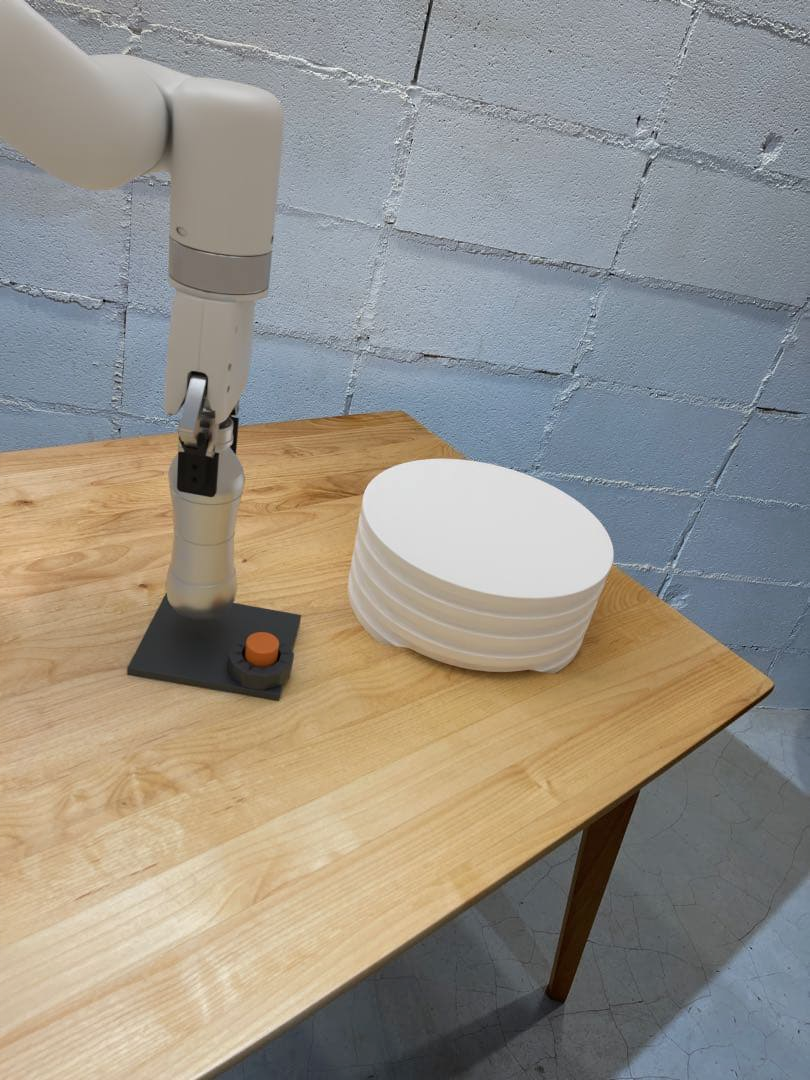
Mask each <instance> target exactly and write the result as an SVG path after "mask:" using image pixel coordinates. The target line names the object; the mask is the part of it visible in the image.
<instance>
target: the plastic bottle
mask: <svg viewBox="0 0 810 1080" xmlns="http://www.w3.org/2000/svg"><path fill="white" fill-rule="evenodd" d="M213 414H214V412H212V411H206V410H203V412H202V415H205V416H210V417H213ZM209 427H210V425H208V424H203V423H200V429H201V430H200V432H201V433H205V435H206V438H207V440H208V434H209ZM232 443H233V420H232V419H231V418H230V417H229V416H228V418H227V419H226V420H225V421H223V422H222V423H220V424H219V430H218V437H217V443H216V450H215V452H216V453H219V464H218V479H217V492H216V494H215V496H214V497H206V496H201V495H195V494H190V493H185V492H180V491H179V490H178V489H177V470H178V453H177V454H176V455H175V456H174V457H173V459H172V460H171V463H170V465H169V469H168V471H167V476H168V485H169V492H170V493H169V494H170V499H171V500H170V501H171V507H172V524H173V542H172V549H171V557H170V563H169V565H168V569H167V573H166V578H165V584H164V585H165V586H164V587H165V590H166V591H165V593H166V592H167V598H168V601H169V603H170V605H171V606H172V607H173V608H174V609H175V610H176V611H177V612H178V613H179V614H181V615H183V616H185V617H187V618H191V619H196V620H208V619H214V618H217V617H219V616H221V615H223V614H224V613H225V612H226V611H227V610H229V609H230V608H231V606H232V605H233V603H235V599H236V597H237V593H238V577H237V571H236V567H235V534H236V528H237V527H236V526H237V521H238V520H237V518H238V514H239V509H240V504H241V501H242V497H243V492H244V489H245V483H246V475H245V470H244V468H243V467H244V466H243V465H242V463H241V461H240V460H239V458H238V456H237V454H236V455H235V453H234V452H233V451H232V449H231V448H230V447H229V446H231V445H232Z"/></svg>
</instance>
